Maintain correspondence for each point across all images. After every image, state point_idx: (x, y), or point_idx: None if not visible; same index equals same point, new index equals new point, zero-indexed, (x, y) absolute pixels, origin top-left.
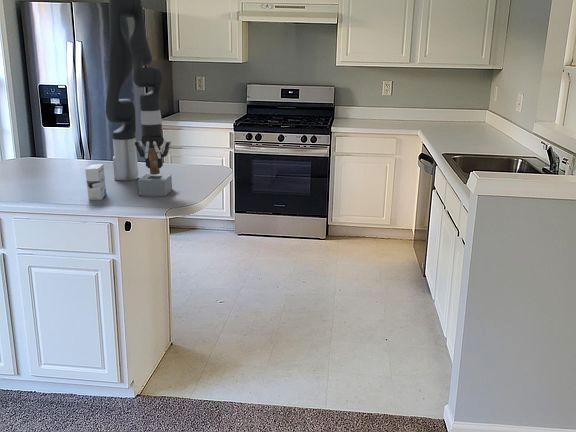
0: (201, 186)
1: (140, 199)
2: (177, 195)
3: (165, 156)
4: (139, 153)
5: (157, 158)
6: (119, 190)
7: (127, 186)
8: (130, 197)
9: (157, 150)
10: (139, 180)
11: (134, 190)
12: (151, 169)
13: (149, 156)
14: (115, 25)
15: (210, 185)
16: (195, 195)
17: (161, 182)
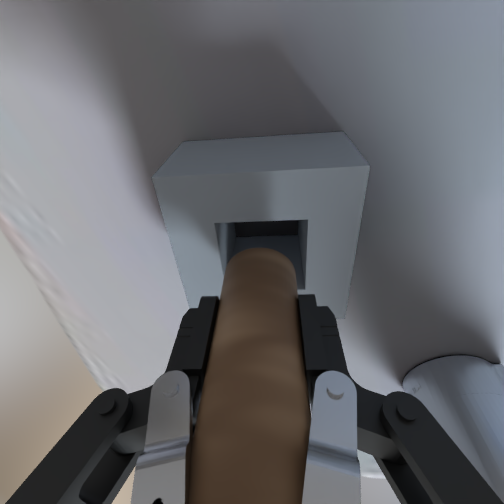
0: (115, 312)
1: (310, 25)
2: (125, 166)
3: (106, 400)
4: (446, 440)
5: (205, 377)
6: (478, 224)
7: (437, 290)
8: (394, 74)
9: (152, 487)
10: (357, 165)
11: (392, 232)
12: (273, 275)
13: (292, 394)
14: None
15: (91, 324)
16: (36, 178)
17: (177, 170)
